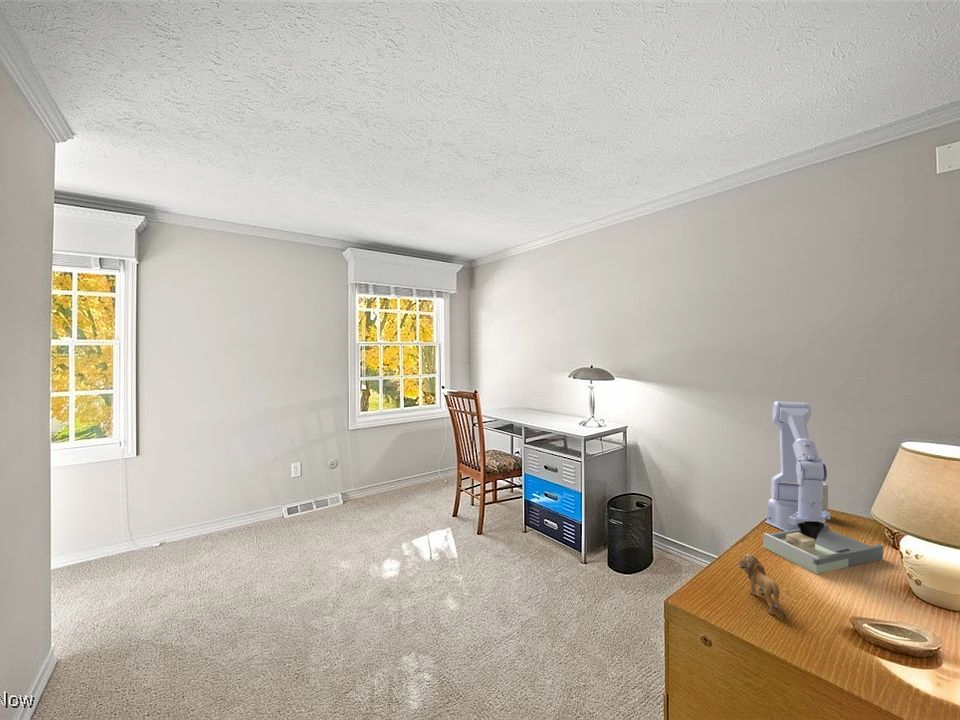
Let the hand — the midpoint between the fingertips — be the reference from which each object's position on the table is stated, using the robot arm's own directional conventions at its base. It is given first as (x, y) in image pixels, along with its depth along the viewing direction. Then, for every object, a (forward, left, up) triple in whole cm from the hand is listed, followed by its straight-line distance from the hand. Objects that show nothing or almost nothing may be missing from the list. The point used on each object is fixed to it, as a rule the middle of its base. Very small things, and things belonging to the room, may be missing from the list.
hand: (809, 544), depth 127 cm
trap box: (0, +5, -3) cm, 6 cm away
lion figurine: (+12, -33, -4) cm, 36 cm away
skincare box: (-21, +33, -4) cm, 39 cm away
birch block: (0, -4, -1) cm, 4 cm away
